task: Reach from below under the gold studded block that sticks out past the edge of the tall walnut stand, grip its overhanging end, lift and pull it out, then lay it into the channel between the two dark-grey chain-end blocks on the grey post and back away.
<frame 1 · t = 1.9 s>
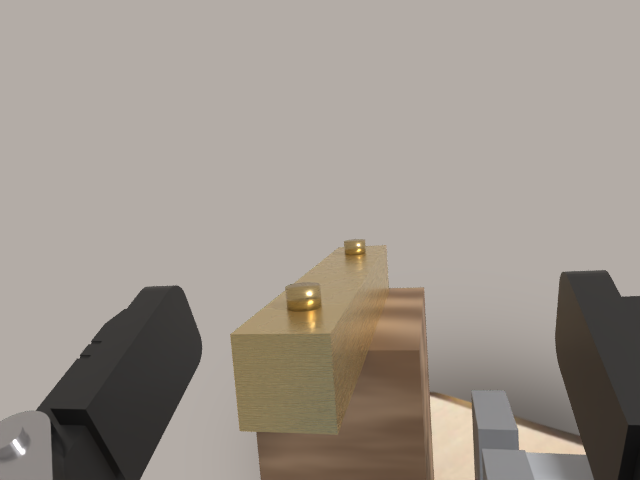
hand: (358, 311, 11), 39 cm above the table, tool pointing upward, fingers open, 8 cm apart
gold studded block: (340, 337, 32), point 32 cm above the table, touching stand
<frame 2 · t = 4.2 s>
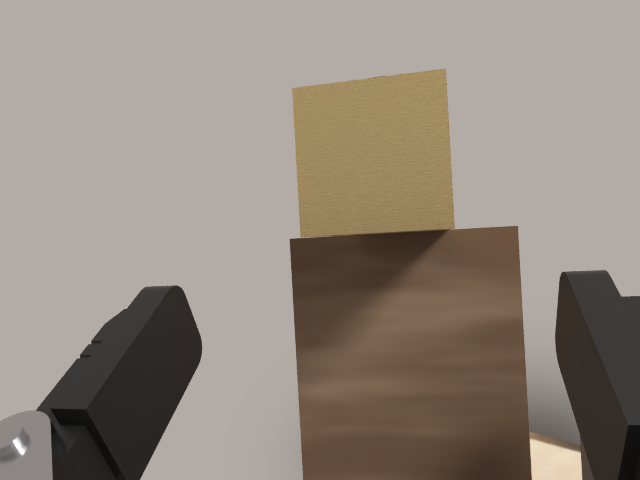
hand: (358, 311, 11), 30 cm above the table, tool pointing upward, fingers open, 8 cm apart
gold studded block: (405, 232, 25), point 32 cm above the table, touching stand
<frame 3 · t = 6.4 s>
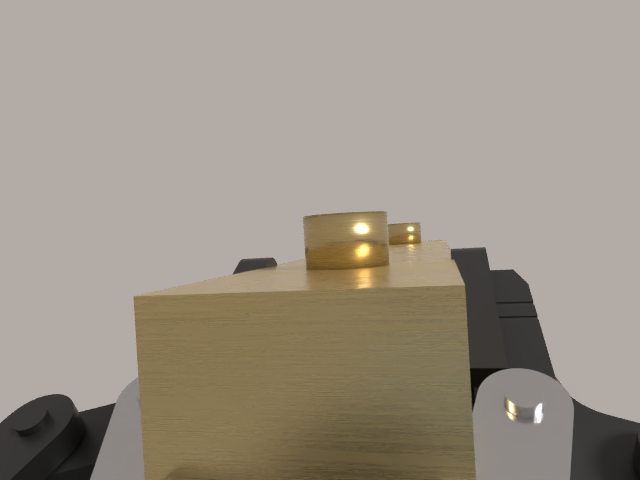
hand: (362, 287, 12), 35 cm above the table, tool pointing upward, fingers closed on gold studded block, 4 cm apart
gold studded block: (395, 365, 18), point 32 cm above the table, touching gripper, stand
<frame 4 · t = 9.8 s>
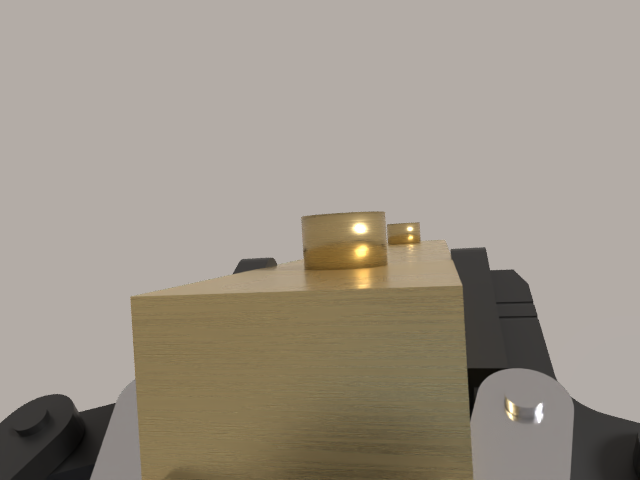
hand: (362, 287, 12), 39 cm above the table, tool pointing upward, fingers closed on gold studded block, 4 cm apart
gold studded block: (394, 365, 18), point 36 cm above the table, touching gripper
when the fingers open (29 cm above the table, at t = 13.0 s): gold studded block drops 1 cm, resting on chain post.
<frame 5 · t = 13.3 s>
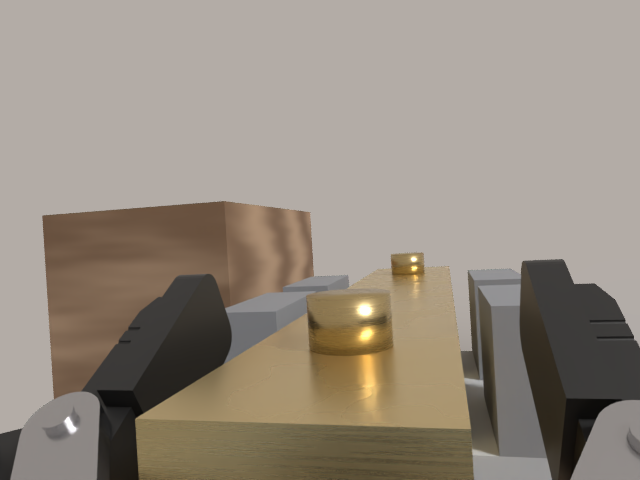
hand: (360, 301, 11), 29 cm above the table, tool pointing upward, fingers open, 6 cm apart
gold studded block: (399, 409, 18), point 24 cm above the table, touching chain post
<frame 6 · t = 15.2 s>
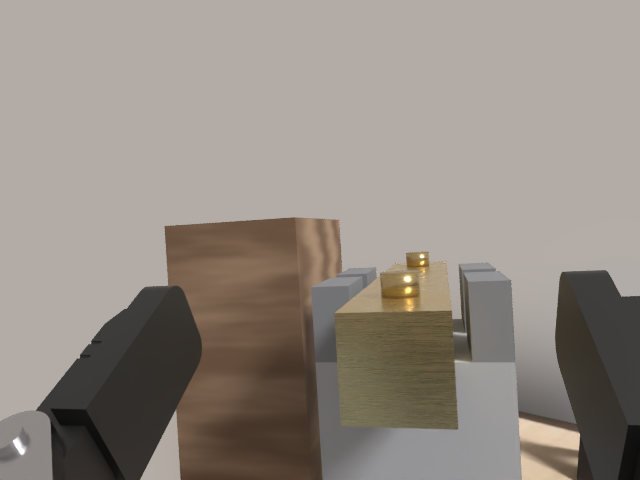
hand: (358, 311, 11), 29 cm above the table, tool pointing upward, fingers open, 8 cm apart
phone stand: (617, 476, 61), on the table
gold studded block: (415, 346, 29), point 24 cm above the table, touching chain post
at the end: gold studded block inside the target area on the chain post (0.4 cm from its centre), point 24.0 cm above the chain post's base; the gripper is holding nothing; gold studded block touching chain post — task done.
